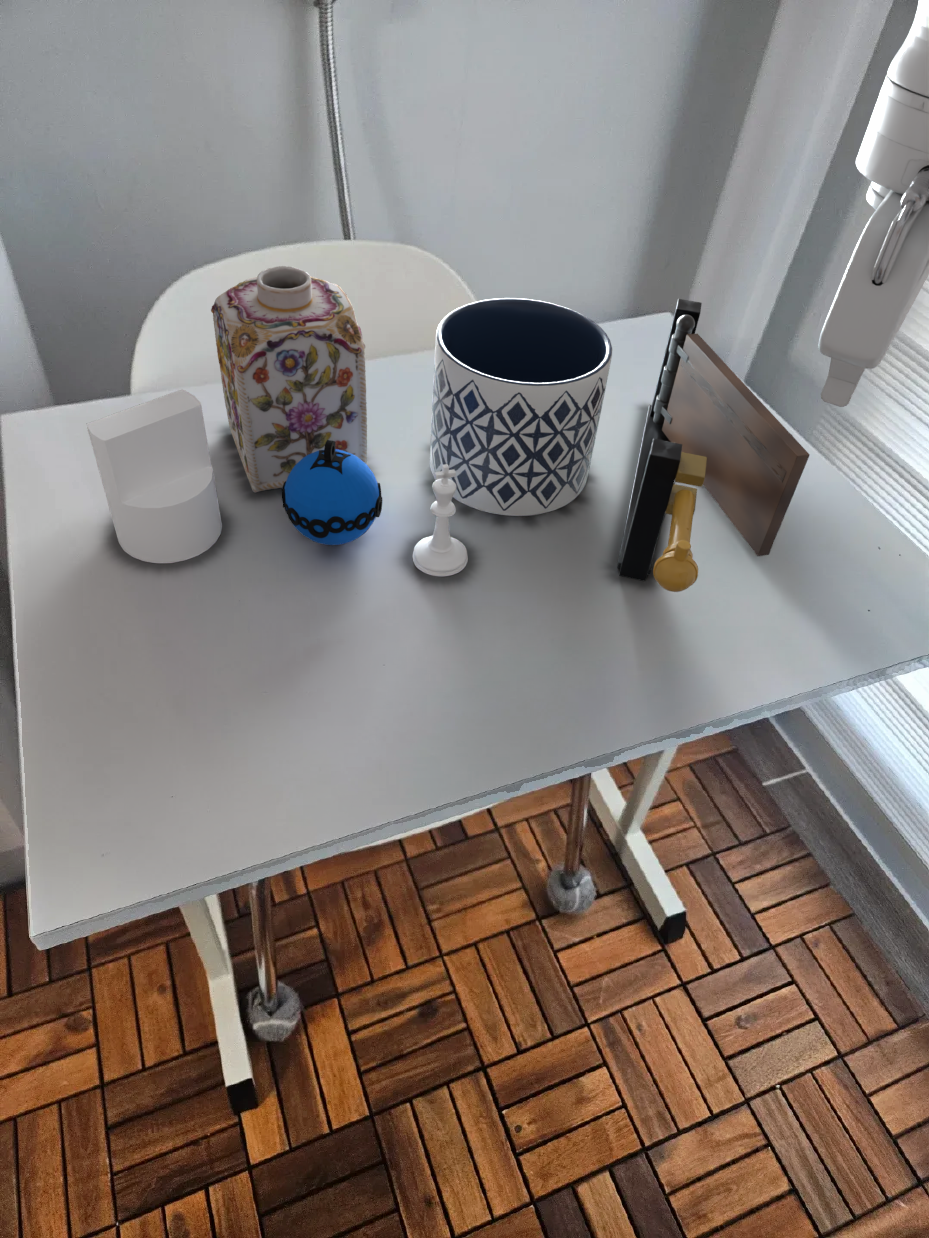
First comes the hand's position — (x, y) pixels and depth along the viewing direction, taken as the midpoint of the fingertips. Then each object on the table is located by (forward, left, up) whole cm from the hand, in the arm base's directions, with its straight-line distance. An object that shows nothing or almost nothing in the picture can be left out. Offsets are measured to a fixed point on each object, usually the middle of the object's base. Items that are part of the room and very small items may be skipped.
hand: (852, 369), depth 59 cm
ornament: (+37, +1, -24) cm, 44 cm away
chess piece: (+27, +1, -24) cm, 36 cm away
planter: (+24, -14, -24) cm, 37 cm away
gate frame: (+9, -16, -24) cm, 30 cm away
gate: (+5, -18, -23) cm, 29 cm away
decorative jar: (+45, -10, -24) cm, 52 cm away
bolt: (+8, +4, -15) cm, 18 cm away
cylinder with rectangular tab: (+51, +5, -24) cm, 57 cm away
